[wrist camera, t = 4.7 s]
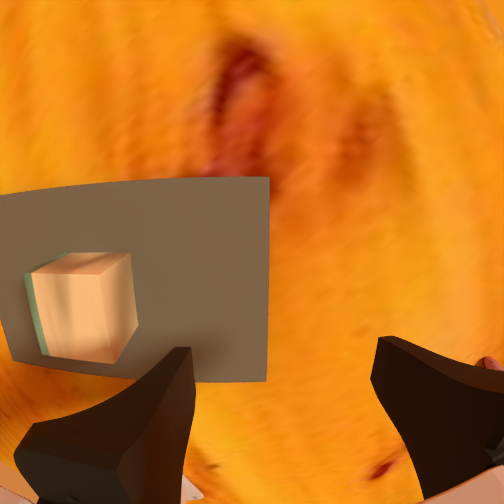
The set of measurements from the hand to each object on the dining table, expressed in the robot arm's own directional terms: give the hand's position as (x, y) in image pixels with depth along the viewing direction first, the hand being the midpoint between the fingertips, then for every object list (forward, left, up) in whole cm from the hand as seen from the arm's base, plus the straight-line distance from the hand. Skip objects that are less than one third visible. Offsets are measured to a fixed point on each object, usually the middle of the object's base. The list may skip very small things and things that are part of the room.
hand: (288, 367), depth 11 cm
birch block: (-8, +3, -6) cm, 10 cm away
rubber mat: (-10, +4, -9) cm, 14 cm away
